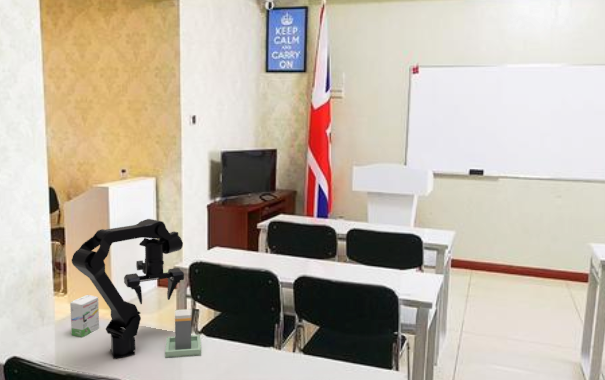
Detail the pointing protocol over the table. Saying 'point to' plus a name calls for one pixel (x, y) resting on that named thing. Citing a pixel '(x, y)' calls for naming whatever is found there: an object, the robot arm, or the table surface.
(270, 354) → the table surface
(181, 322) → the grey tall block
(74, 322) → the ink box
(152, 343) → the table surface
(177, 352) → the tray
